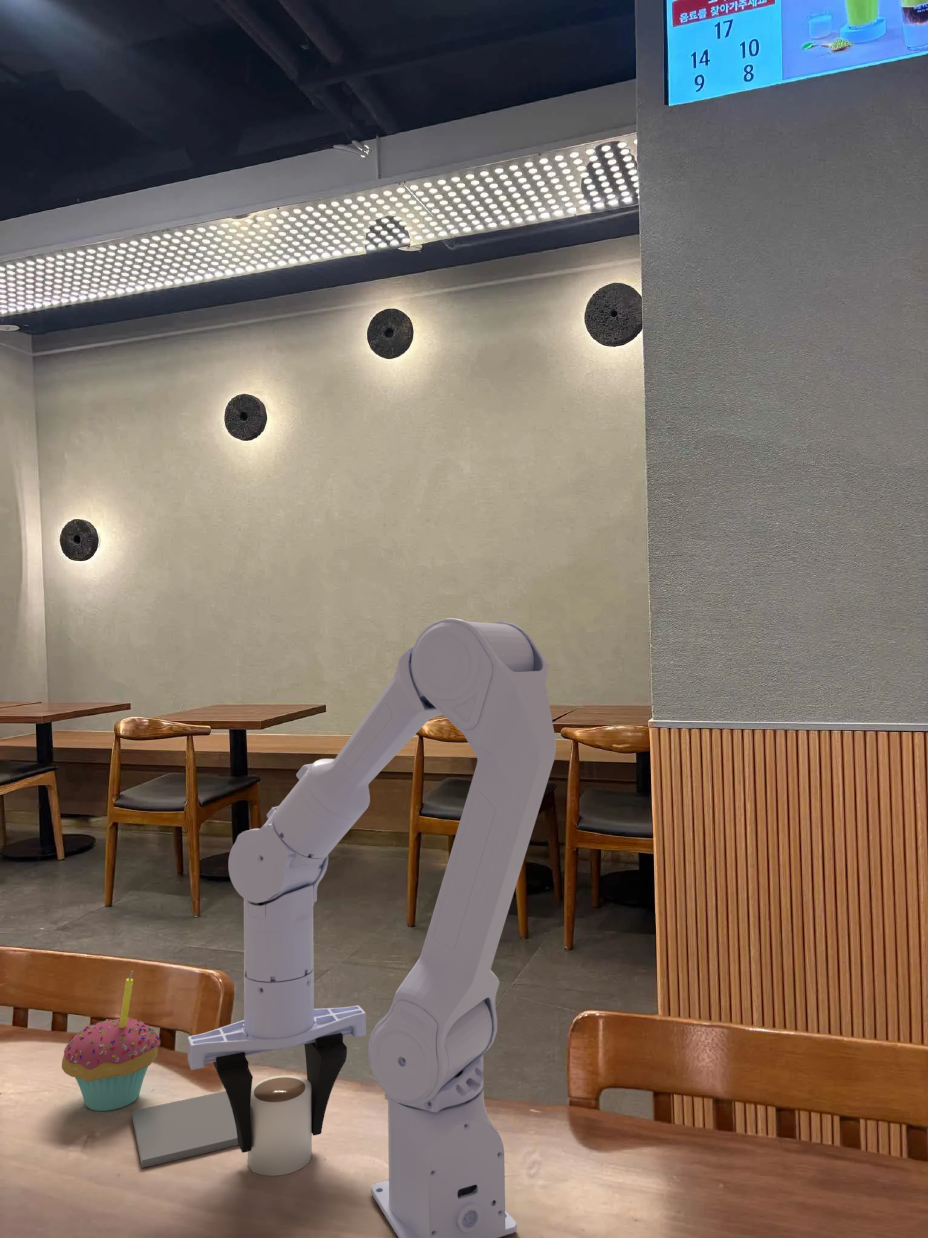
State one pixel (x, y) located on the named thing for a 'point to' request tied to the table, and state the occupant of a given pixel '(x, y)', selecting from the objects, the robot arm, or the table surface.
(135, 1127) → the coaster
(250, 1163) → the cup
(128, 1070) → the cupcake
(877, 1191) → the table surface
